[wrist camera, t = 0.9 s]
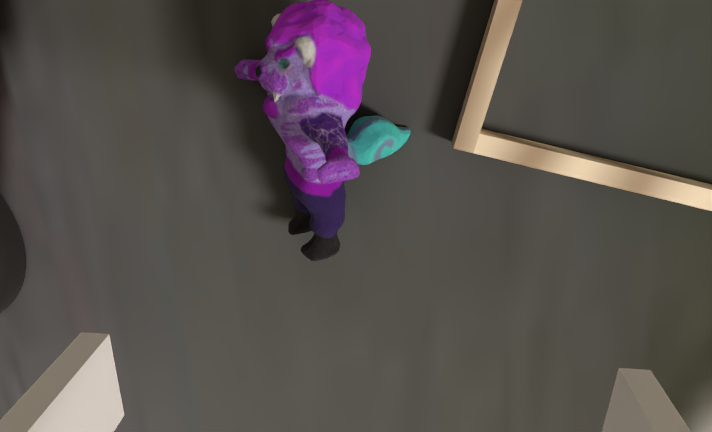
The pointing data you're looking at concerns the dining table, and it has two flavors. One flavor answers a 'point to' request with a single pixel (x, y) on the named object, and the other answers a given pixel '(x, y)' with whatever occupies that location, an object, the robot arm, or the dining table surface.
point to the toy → (320, 112)
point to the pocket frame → (546, 155)
